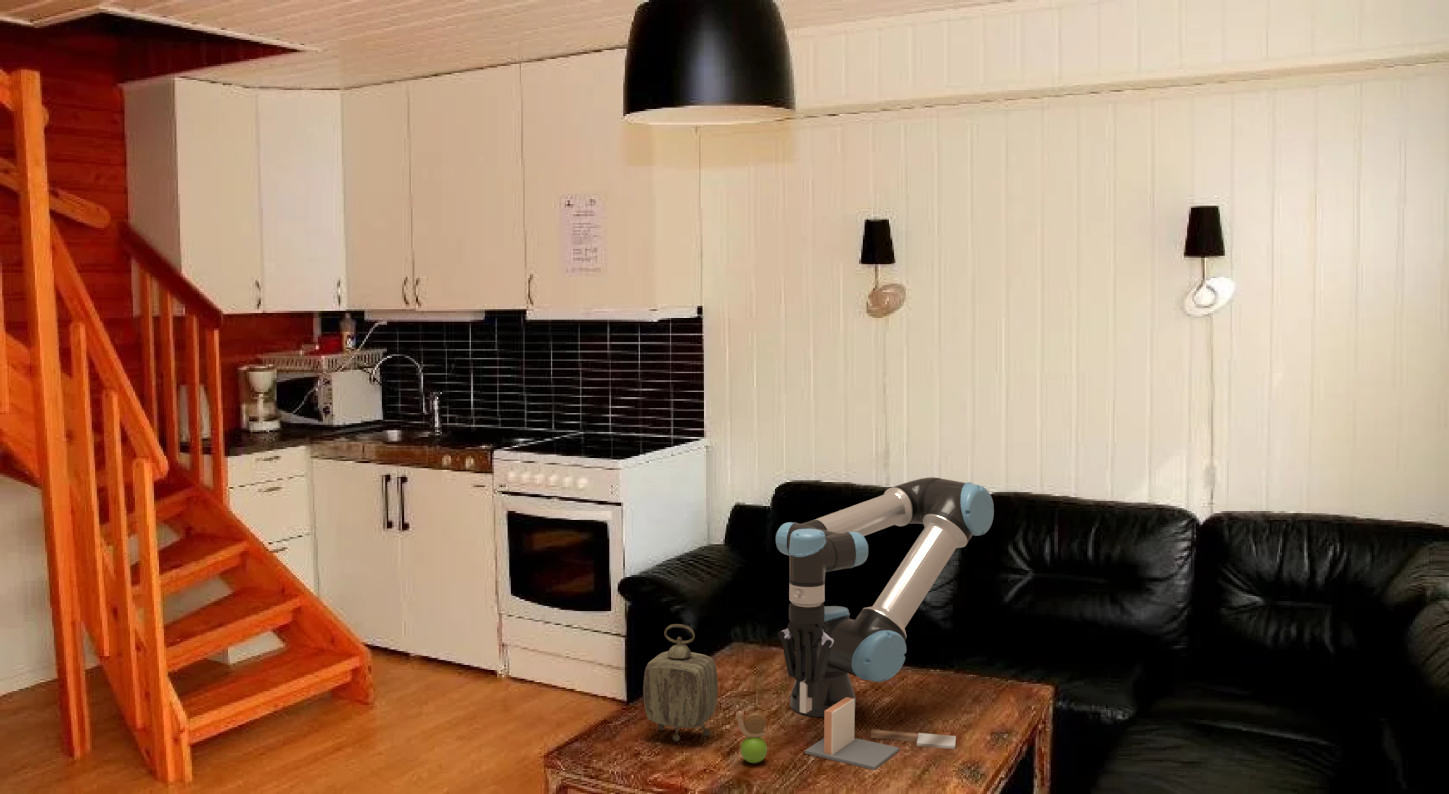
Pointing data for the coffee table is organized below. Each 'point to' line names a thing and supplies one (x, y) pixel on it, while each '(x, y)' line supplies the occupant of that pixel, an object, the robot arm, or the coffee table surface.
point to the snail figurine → (752, 736)
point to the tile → (839, 725)
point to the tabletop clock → (680, 687)
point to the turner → (917, 738)
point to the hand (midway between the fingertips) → (805, 710)
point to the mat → (857, 753)
